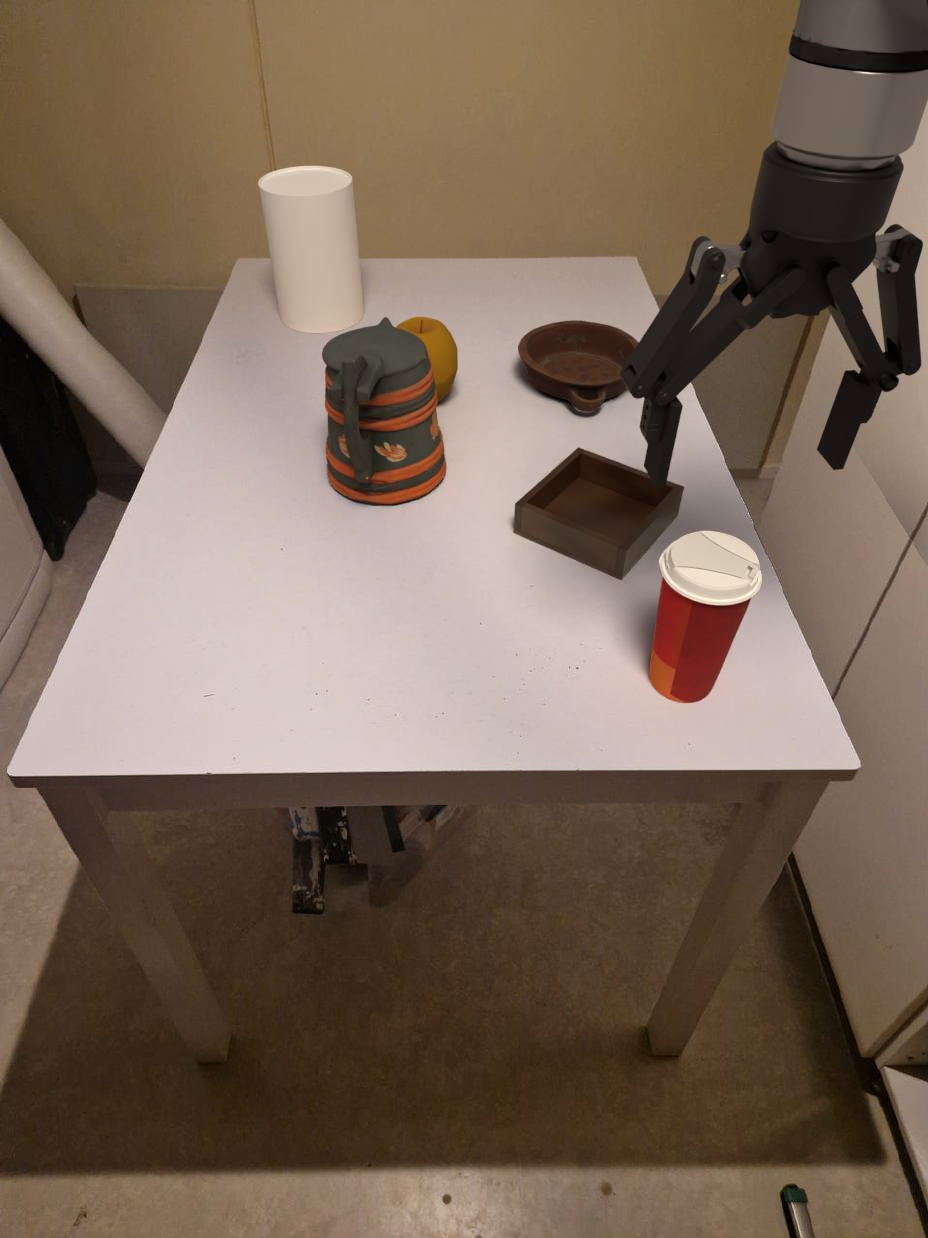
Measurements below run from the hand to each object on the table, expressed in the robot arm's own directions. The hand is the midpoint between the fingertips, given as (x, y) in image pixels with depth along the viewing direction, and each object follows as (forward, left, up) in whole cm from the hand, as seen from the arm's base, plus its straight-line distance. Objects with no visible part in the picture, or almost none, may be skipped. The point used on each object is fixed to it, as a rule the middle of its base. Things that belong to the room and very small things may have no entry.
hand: (743, 467), depth 61 cm
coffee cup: (0, 0, -24) cm, 24 cm away
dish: (+37, -44, -24) cm, 62 cm away
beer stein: (+43, -8, -24) cm, 50 cm away
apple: (+51, -26, -24) cm, 63 cm away
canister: (+81, -38, -24) cm, 93 cm away
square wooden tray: (+18, -16, -24) cm, 34 cm away
